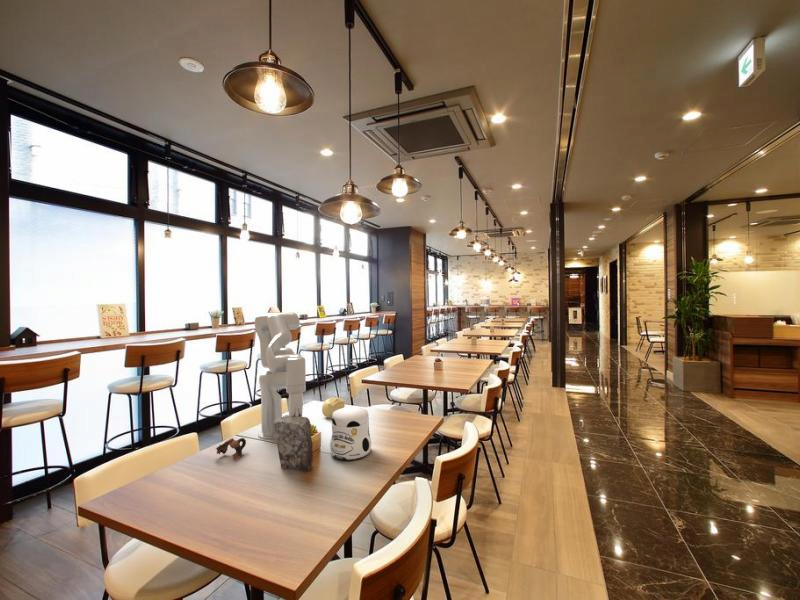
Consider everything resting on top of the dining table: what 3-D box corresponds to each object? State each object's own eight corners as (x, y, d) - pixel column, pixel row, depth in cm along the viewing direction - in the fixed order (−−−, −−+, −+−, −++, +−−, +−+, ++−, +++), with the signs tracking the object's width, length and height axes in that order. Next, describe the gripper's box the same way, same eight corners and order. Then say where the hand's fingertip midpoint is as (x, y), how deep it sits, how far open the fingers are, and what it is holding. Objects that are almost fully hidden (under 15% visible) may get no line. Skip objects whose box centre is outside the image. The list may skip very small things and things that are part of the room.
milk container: (330, 466, 138) (329, 421, 138) (329, 448, 155) (329, 407, 155) (373, 462, 142) (373, 417, 142) (368, 444, 158) (368, 405, 158)
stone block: (277, 471, 135) (271, 421, 133) (287, 461, 141) (282, 414, 139) (308, 474, 131) (303, 423, 129) (317, 463, 138) (312, 415, 136)
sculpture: (334, 421, 189) (334, 401, 189) (317, 417, 195) (317, 398, 195) (347, 415, 199) (347, 396, 199) (331, 412, 205) (331, 393, 205)
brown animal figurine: (229, 464, 141) (219, 446, 141) (219, 469, 146) (209, 451, 146) (254, 446, 151) (245, 430, 151) (243, 451, 156) (234, 435, 156)
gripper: (285, 384, 147) (286, 427, 147) (286, 393, 133) (287, 441, 133) (304, 382, 149) (304, 425, 149) (307, 391, 135) (307, 438, 135)
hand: (296, 432), depth 141 cm, fingers closed
